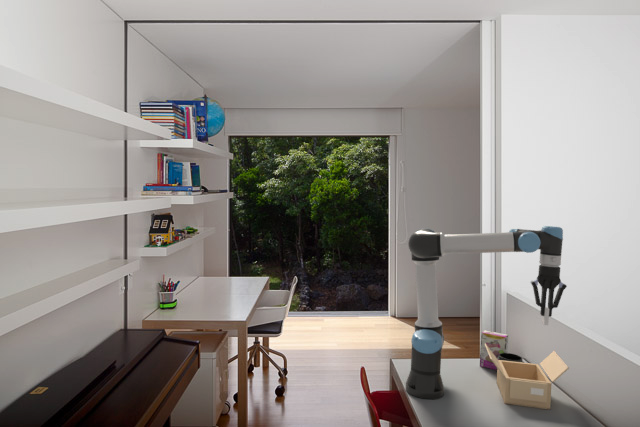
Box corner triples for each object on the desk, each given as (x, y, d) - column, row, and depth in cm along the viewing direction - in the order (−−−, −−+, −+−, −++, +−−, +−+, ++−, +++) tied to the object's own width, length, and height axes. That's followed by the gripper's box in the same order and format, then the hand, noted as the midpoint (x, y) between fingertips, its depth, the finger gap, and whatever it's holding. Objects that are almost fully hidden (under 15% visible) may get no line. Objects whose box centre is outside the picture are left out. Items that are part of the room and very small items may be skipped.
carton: (505, 404, 171) (506, 378, 171) (496, 382, 192) (497, 359, 192) (550, 410, 168) (552, 384, 167) (536, 387, 189) (538, 363, 188)
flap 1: (504, 376, 172) (503, 376, 172) (497, 359, 191) (496, 359, 191) (491, 358, 173) (490, 359, 173) (485, 343, 192) (484, 344, 192)
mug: (531, 380, 196) (532, 359, 196) (507, 381, 194) (508, 361, 193) (517, 371, 205) (518, 352, 205) (493, 373, 203) (494, 353, 202)
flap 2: (539, 363, 187) (540, 364, 187) (552, 381, 169) (553, 382, 168) (553, 350, 186) (554, 351, 186) (568, 367, 167) (569, 368, 167)
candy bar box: (479, 366, 210) (481, 332, 209) (481, 363, 214) (483, 329, 213) (504, 372, 204) (506, 336, 203) (506, 369, 208) (508, 334, 207)
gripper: (534, 265, 175) (529, 324, 177) (570, 268, 172) (565, 328, 173) (529, 262, 183) (525, 319, 184) (565, 265, 180) (560, 323, 181)
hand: (545, 324), depth 179 cm, fingers closed
